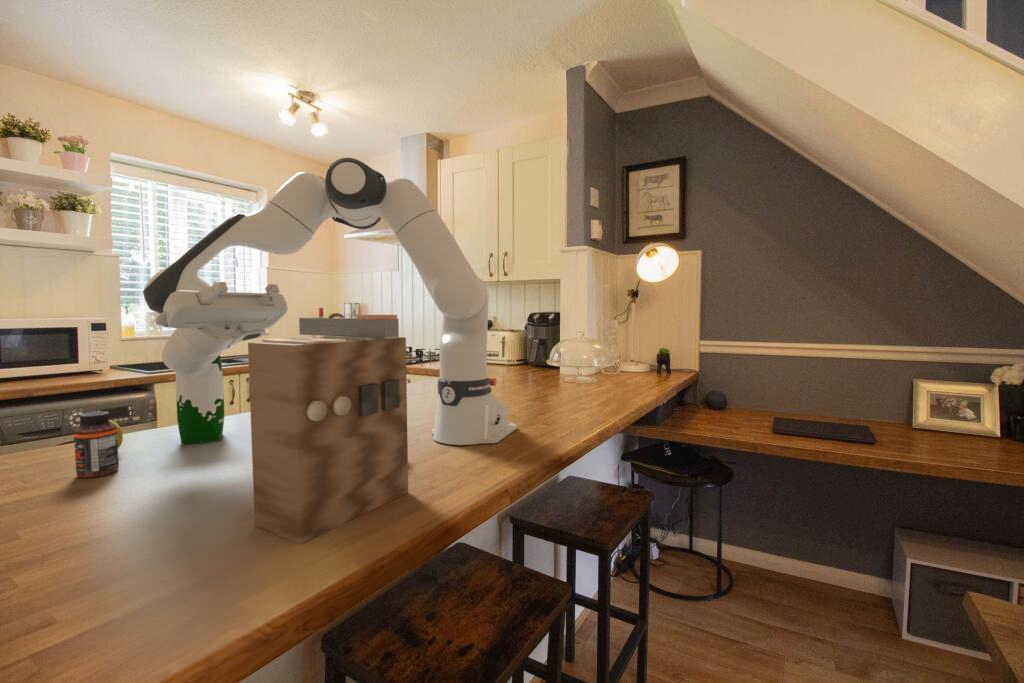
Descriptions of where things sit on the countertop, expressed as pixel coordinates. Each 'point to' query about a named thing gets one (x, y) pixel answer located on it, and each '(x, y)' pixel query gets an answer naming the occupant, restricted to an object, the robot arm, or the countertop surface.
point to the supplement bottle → (96, 445)
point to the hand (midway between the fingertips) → (250, 286)
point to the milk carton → (200, 404)
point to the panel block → (326, 430)
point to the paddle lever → (352, 326)
